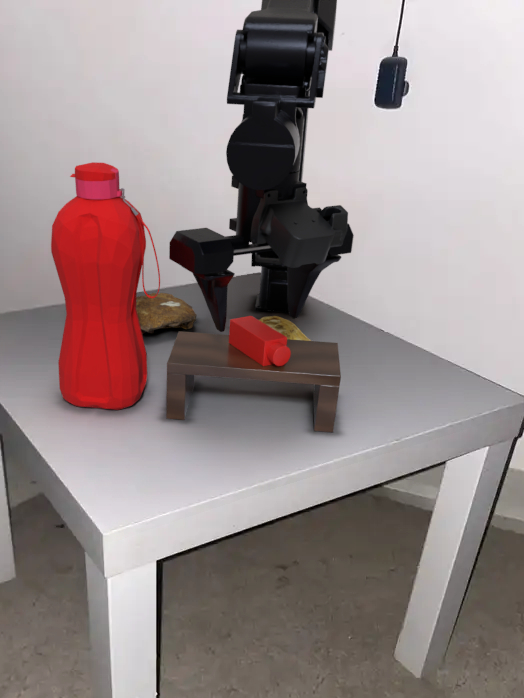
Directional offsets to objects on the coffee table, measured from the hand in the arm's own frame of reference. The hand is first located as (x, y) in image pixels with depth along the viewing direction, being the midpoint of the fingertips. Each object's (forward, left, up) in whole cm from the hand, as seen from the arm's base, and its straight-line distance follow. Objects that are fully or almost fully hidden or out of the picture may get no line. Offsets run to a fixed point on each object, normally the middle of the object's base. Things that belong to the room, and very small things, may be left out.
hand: (257, 323), depth 82 cm
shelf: (0, 0, -10) cm, 10 cm away
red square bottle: (0, 0, -3) cm, 3 cm away
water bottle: (0, -16, -10) cm, 19 cm away
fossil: (-15, +2, -10) cm, 18 cm away
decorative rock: (-21, -16, -10) cm, 28 cm away
